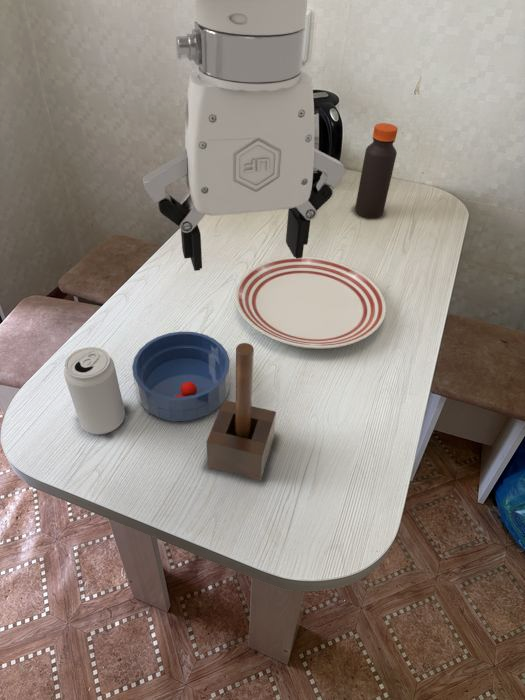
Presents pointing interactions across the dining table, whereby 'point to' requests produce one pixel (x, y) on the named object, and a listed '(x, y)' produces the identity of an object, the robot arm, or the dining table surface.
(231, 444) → the holder
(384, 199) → the bottle
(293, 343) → the dinner plate
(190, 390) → the tomato
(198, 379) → the bowl
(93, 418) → the beverage can
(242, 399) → the stirring stick
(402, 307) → the dining table surface
